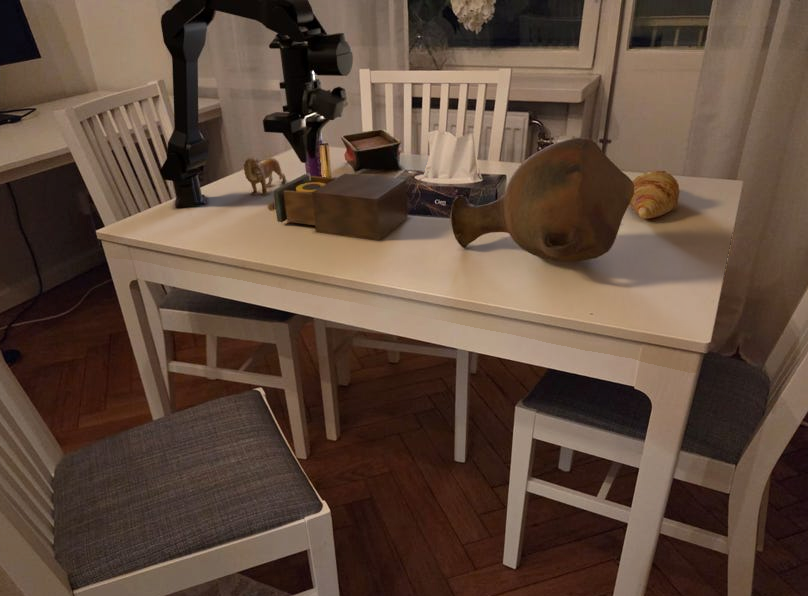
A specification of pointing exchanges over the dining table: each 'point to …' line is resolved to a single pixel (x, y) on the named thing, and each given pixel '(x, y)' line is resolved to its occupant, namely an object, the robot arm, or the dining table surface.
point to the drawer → (296, 201)
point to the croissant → (654, 194)
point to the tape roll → (309, 187)
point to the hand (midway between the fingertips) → (308, 160)
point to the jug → (554, 204)
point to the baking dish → (372, 150)
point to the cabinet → (360, 206)
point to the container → (314, 162)
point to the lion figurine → (262, 172)
